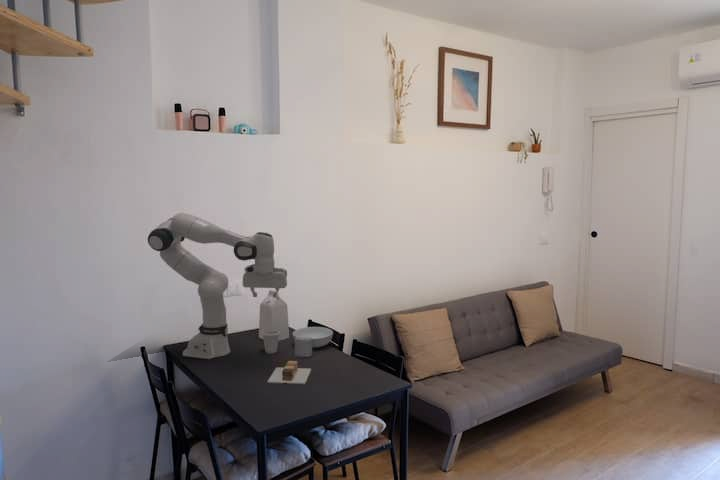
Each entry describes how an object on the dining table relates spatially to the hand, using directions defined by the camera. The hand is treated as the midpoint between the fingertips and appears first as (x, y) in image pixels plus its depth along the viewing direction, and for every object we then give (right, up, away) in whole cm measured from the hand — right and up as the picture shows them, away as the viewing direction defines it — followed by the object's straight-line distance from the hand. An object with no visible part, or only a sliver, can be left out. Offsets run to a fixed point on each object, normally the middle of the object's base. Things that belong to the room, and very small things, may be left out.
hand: (265, 297), depth 227 cm
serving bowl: (+19, -29, +28) cm, 45 cm away
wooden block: (+14, -32, -13) cm, 38 cm away
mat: (+14, -33, -13) cm, 38 cm away
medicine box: (+16, -30, +12) cm, 37 cm away
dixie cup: (0, -30, +18) cm, 34 cm away
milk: (-3, -27, +40) cm, 48 cm away
